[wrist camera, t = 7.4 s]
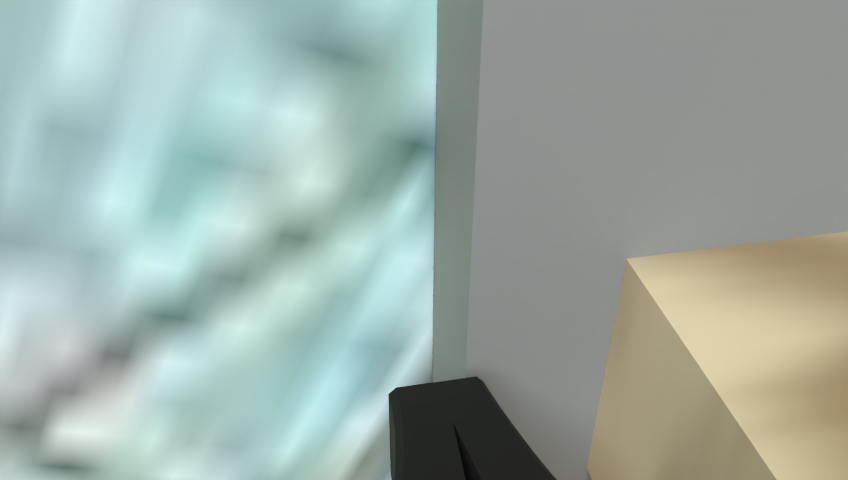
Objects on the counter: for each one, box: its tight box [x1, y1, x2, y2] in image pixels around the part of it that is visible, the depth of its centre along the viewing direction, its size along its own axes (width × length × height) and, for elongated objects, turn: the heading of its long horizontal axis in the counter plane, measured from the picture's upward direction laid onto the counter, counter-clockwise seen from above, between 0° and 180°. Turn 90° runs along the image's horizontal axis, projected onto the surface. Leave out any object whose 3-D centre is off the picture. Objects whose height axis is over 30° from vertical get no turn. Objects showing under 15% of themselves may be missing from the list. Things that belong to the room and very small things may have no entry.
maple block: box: [587, 231, 848, 480], centre depth 12 cm, size 5×5×4 cm
